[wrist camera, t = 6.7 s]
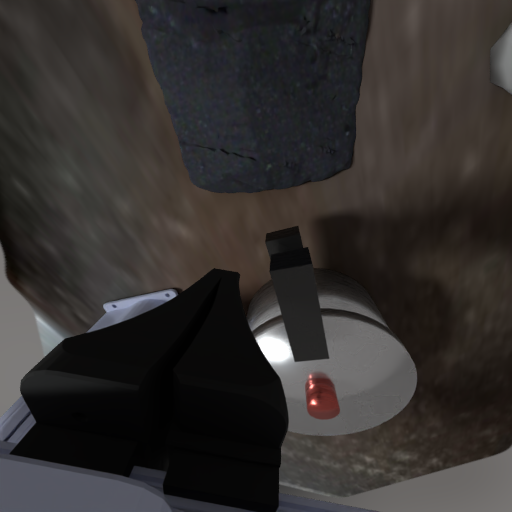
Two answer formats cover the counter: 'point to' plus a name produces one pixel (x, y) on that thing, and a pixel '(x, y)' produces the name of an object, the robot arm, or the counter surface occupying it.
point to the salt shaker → (502, 61)
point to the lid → (331, 357)
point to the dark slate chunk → (259, 86)
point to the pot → (327, 282)
